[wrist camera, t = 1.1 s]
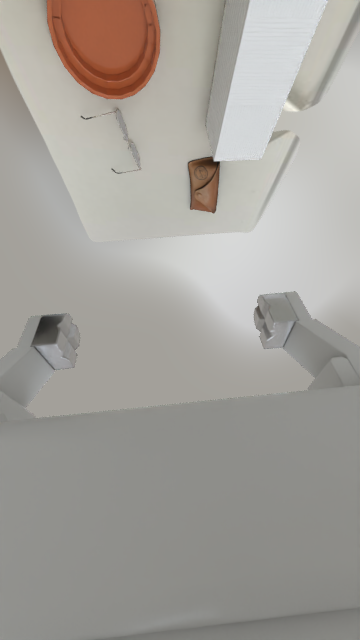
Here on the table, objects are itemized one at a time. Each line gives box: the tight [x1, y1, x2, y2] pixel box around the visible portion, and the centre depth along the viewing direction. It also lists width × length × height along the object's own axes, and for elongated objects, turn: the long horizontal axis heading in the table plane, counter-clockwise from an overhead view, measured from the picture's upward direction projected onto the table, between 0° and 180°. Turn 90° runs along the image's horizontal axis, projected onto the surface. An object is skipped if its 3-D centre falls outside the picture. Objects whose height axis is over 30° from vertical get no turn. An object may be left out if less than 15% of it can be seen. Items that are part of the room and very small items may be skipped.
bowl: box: [47, 0, 160, 99], centre depth 39 cm, size 16×16×4 cm
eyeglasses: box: [81, 109, 141, 174], centre depth 57 cm, size 14×8×4 cm, turn 13°
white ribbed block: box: [205, 0, 328, 161], centre depth 41 cm, size 32×11×11 cm, turn 176°
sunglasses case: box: [188, 157, 220, 213], centre depth 73 cm, size 18×7×7 cm, turn 5°
